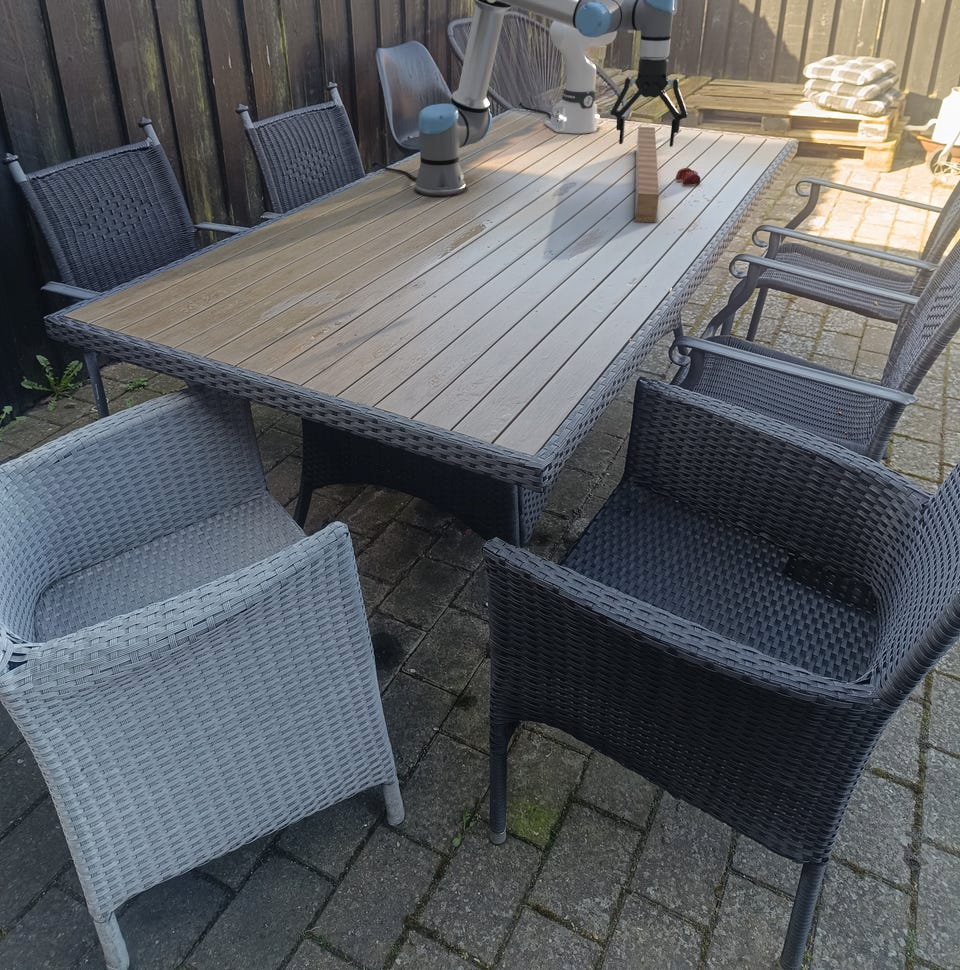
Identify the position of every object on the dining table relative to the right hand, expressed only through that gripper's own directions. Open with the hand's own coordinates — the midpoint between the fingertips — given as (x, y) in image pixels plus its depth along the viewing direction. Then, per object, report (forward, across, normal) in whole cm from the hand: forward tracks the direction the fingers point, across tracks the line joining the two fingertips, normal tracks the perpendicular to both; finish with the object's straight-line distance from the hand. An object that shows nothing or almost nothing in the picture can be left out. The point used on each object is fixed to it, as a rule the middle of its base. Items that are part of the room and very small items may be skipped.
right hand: (644, 32), depth 274 cm
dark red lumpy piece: (+38, -2, +39) cm, 55 cm away
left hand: (+19, +24, +64) cm, 71 cm away
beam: (+38, +10, +35) cm, 53 cm away
